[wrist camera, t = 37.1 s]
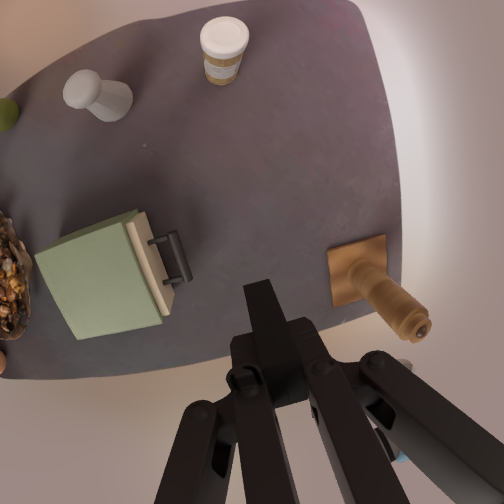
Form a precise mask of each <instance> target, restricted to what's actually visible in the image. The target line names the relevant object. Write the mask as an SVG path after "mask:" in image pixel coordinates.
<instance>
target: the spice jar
mask: <svg viewBox="0 0 504 504" xmlns="http://www.w3.org/2000/svg"><path fill="white" fill-rule="evenodd" d="M248 40H249V30H248V28H247V26H246V25H245V24H244V23H243V22H242V21H240V20H238V19H236V18H233V17H226V16H225V17H218V18H215V19H212V20H210V21H209V22H207V23H206V24H205V25H204V27H203V28H202V30H201V33H200V41H201V46H202V49H203V50H204V52H203V53H204V65H205V74H206V77H207V79H208V80H209V81H210V82H211V83H214V84H217V85H226V84H229V83H231V82H232V81H233V80H234V79H235V78H236V76H237V74H238V69H239V66H240V63H241V59H242V56H243V51H244V50H245V48H246V47H247V44H248Z"/></svg>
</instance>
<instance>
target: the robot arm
mask: <svg viewBox="0 0 504 504" xmlns="http://www.w3.org/2000/svg"><path fill="white" fill-rule="evenodd" d="M243 288H244V293H245V297H246V302H247V307H248V312H249V316H250V321H251V326H252V330H253V332H250V333H246V334H243V335H238V336H234V337H233V339H232V341H231V344H230V349H231V358H232V369H231V370H230V371H229V372H228V373H227V376H226V381H227V383H228V385H229V387H230V389H231V392H230V393H229V394H228V395H227V396H226V397H224V398H223V399H221V400H219V401H217V402H214V403H212V402H210V401H207V400H199V401H195V402H193V403H191V404H190V405H189V406H188V407H187V408H186V409H185V411H184V413H183V416H182V419H181V422H180V425H179V428H178V431H177V434H176V437H175V440H174V443H173V446H172V449H171V452H170V455H169V458H168V461H167V464H166V467H165V470H164V473H163V477H162V480H161V483H160V486H159V489H158V492H157V495H156V499H155V501H154V504H225V501H226V496H227V491H228V485H229V480H230V474H231V468H232V463H233V458H234V452H235V446H236V443H237V442H238V447H239V455H240V462H241V470H242V476H243V484H244V490H245V497H246V503H247V504H300V503H299V499H298V495H297V491H296V488H295V484H294V480H293V477H292V473H291V469H290V465H289V461H288V458H287V454H286V450H285V446H284V443H283V439H282V434H281V430H280V427H279V423H278V419H277V416H276V413H275V408H279V407H283V406H286V405H290V404H293V403H297V402H301V401H304V400H307V399H308V398H309V401H310V405H311V412H312V418H315V421H316V424H317V427H318V430H319V433H320V435H321V438H322V441H323V444H324V446H325V449H326V452H327V455H328V458H329V460H330V463H331V466H332V468H333V471H334V474H335V477H336V480H337V482H338V485H339V488H340V491H341V494H342V496H343V499H344V502H345V504H410V503H409V500H408V498H407V496H406V494H405V492H404V490H403V488H402V486H401V484H400V482H399V480H398V477H397V476H396V473H395V471H394V469H393V468H392V465H391V462H393V461H394V460H397V462H399V463H402V462H404V461H406V460H408V459H410V460H411V461H412V462H413V463H414V464H415V465H416V466H417V467H418V468H419V469H420V470H421V471H422V472H423V473H424V474H425V475H426V476H427V477H428V478H429V479H430V480H431V481H432V482H433V483H435V485H437V486H438V487H439V488H440V489H441V490H442V491H443V492H444V493H445V494H446V495H447V496H448V497H449V498H450V499H451V500H452V501H454V502H455V503H456V504H504V444H503V443H501V442H500V441H499V440H498V439H496V438H495V437H494V436H493V435H491V434H490V433H489V432H487V431H486V430H485V429H484V428H482V427H481V426H480V425H479V424H477V423H476V422H475V421H474V420H472V419H471V418H470V417H468V416H467V415H466V414H465V413H463V412H462V411H461V410H459V409H458V408H457V407H456V406H454V405H453V404H452V403H451V402H449V401H448V400H447V399H446V398H444V397H443V396H442V395H441V394H439V393H438V392H437V391H435V390H434V389H433V388H432V387H430V386H429V385H428V384H427V383H425V382H424V381H423V380H421V379H420V378H419V377H417V376H416V375H415V374H414V373H412V372H411V371H410V370H409V369H407V368H406V367H405V366H404V365H402V364H401V363H400V362H398V361H397V360H396V359H394V358H393V357H392V356H391V355H389V354H388V353H386V352H384V351H378V350H377V351H371V352H368V353H366V354H365V355H364V356H363V357H362V358H361V360H360V361H359V362H350V363H343V362H339V361H336V360H335V359H333V358H332V357H331V356H330V354H329V353H328V351H327V349H326V347H325V345H324V343H323V341H322V339H321V337H320V336H319V334H318V332H317V330H316V328H315V326H314V324H313V323H312V321H310V320H309V319H307V318H306V317H302V318H298V319H295V320H292V321H288V322H286V319H285V317H284V314H283V312H282V309H281V307H280V304H279V302H278V299H277V297H276V295H275V292H274V290H273V287H272V285H271V282H270V280H269V279H266V280H262V281H259V282H255V283H251V284H247V285H244V286H243ZM366 415H367V416H368V417H369V418H370V419H371V421H373V423H374V424H375V425H376V426H377V428H375V429H373V428H372V426H371V424H370V422H369V420H368V418H367V416H366Z"/></svg>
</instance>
